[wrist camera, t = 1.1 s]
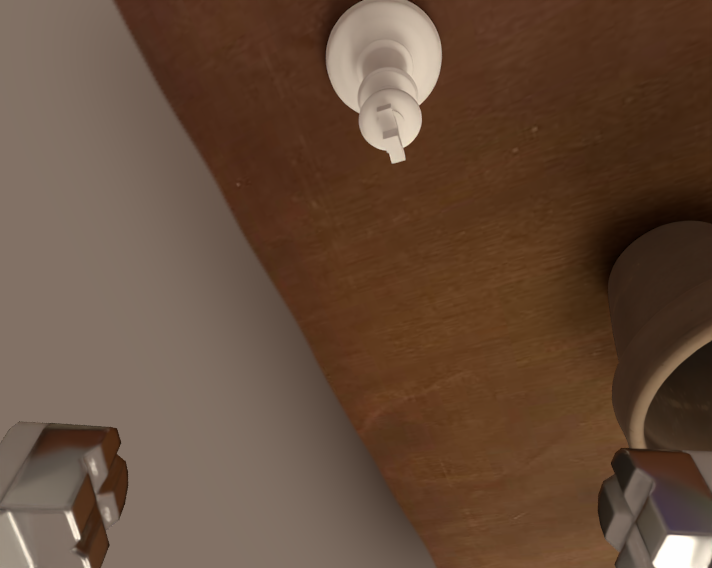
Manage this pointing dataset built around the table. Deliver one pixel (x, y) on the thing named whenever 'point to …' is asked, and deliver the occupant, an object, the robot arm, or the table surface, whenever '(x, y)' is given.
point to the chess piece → (385, 69)
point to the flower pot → (664, 338)
